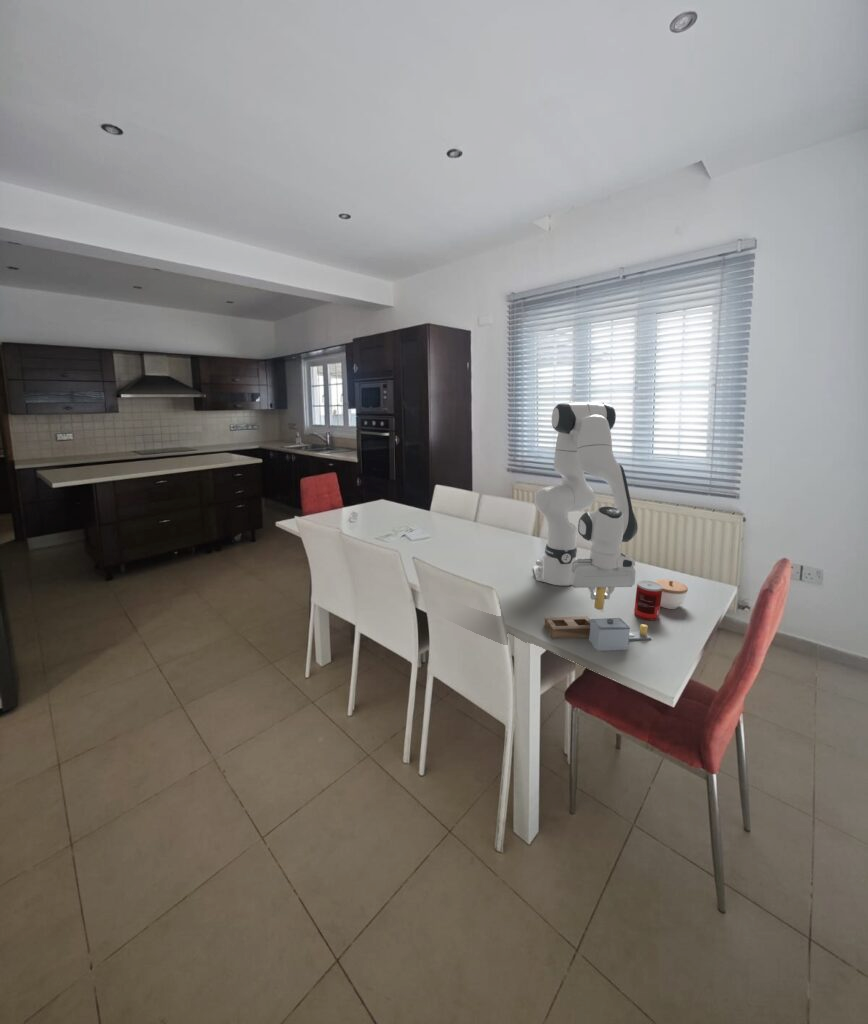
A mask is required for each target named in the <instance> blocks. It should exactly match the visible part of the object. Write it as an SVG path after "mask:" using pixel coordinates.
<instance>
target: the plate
mask: <svg viewBox="0 0 868 1024" xmlns="http://www.w3.org/2000/svg"><path fill="white" fill-rule="evenodd" d="M639 626H640V627H639V631H630V632H629V641H649V640H652V637H651V636H650V635H649V634H648V629H649V628H648V627H649V626H648V625H647V624H643V623H641V624H640V625H639ZM629 641H628V642H629Z"/></svg>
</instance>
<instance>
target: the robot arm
mask: <svg viewBox="0 0 868 1024" xmlns="http://www.w3.org/2000/svg"><path fill="white" fill-rule="evenodd" d="M616 414H617V413H616V410H615V408H614V406H613V405H611V404H609V403H604V402H601V403H600V402H592V401H583V402H581V401H580V402H570V403H569V402H562V403H558V404H557V405H555V407H554V408H553V410H552V414H551V425H552V428H553V430H554V431H556V432H558V433H557V436H556V443H555V449H554V450H555V452H554V459H553V468H554V471H555V472H556V473H557V474H558V475H560V476H561V478H562V479H561V481H562V483H561V484H557V485H548V486H546V487H543V488H540V489H539V490H538V489H537V492H536V493H535V495H534V505H535V508H536V509H537V511H538V512H540V513H541V514H542V516H543V517H544V518H545V522H546V525H547V542H546V546H545V548H544V549H545V550H544V552H543V554H542V555H540V556H539V558H538V559H537V560H536V562H535V563H536V564H535V565H534V566H532V571H533V573H534V577H535V580H536V581H538V582H544V583H547V584H550V585H554V586H572V587H574V588H575V589H582V588H585V589H586V588H587V589H588V591H589V592H590V599H591V600H593V601H595V600H597V594H596V592H594V591H596V588H597V587H606V588H607V590H606V591H605V599H604V600H610V597H611V594H612V593H613V592H614V591H615V588H632V587H633V586H634V585H635V584H636V583H635V582H636V568H635V565H636V561H635V560H634V559H633V558H631V557H630V556H629V555H627V554H626V553H622V549H621V544H622V543H627V542H630V541H631V540H632V539H633V538H634V537H635V536H636V535H637V533H638V522H637V519H636V516H635V513H634V510H633V505H632V501H631V494H630V491H629V485H628V481H627V475H626V474H625V469H624V467H623V466H622V464H620V463H619V462H618V461H617V460H616V458H615V456H614V455H615V454H614V452H613V441H612V439H613V438H612V432H611V429H613V428H614V426H615V423H616V418H617V415H616ZM585 473H587V474H588V475H590V476H592V477H595V478H597V479H599V480H602V481H604V483H607V484H608V485H609V486H610V488H611V491H612V497H613V501H614V505H615V506H614V507H613V506H602V507H598V508H597V510H595V511H587V512H586V511H585V512H584V513H583V514H582V515H581V516H580V517H579V518H578V527H576V525H575V524H573V523H572V522H571V521H570V520H569V513H574V512H581V511H584V510H587V509H589V508H591V507H592V506H593V504H594V502H595V497H596V495H595V492H594V490H593V488H592V487H591V486H590V485H589V483H588V482H587V480H586V476H585ZM578 534H579V535H580V537H582V538H583V539H584V540H585V541H590V542H591V543H592V545H591V547H590V556H589V558H577V553H578V548H577V535H578Z"/></svg>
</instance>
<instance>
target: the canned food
mask: <svg viewBox="0 0 868 1024" xmlns="http://www.w3.org/2000/svg"><path fill="white" fill-rule="evenodd" d="M661 596H662V585H660V584H658V583H656V582H655V581H652V580H640V581H638V582H637V584H636V592H635V601H634V610H633V611H634V615H635V616H636V617H638V618H639V619H641V620H645V621H646V620H647V621H655V620H656V621H657V619H659V616H660V611H661V606H660V604H661Z"/></svg>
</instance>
